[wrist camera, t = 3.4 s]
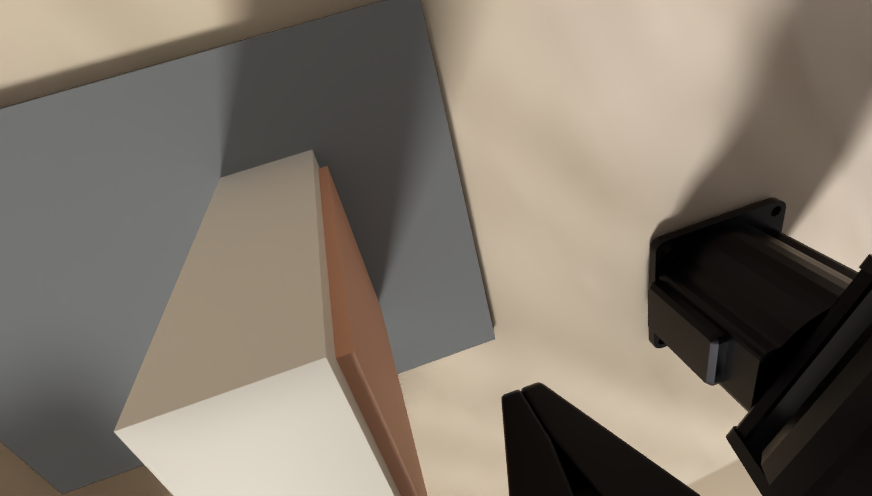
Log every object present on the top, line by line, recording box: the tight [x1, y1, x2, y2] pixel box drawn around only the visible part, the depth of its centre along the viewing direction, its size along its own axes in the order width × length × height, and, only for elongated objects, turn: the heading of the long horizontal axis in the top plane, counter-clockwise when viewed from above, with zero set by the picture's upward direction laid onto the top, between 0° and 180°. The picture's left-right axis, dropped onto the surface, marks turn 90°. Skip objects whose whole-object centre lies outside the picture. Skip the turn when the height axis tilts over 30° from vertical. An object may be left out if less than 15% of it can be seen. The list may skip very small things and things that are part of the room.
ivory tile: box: [114, 150, 427, 496], centre depth 13 cm, size 3×7×10 cm, turn 13°
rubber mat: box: [0, 0, 495, 494], centre depth 17 cm, size 19×14×1 cm
